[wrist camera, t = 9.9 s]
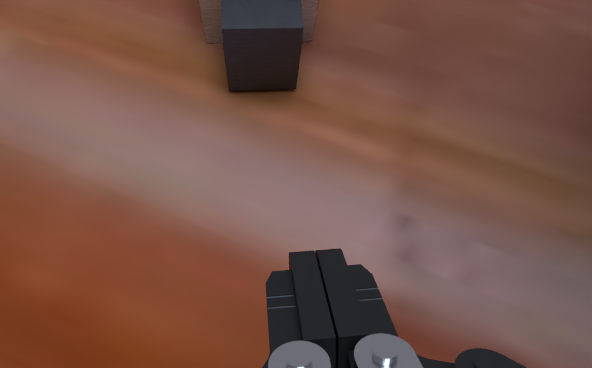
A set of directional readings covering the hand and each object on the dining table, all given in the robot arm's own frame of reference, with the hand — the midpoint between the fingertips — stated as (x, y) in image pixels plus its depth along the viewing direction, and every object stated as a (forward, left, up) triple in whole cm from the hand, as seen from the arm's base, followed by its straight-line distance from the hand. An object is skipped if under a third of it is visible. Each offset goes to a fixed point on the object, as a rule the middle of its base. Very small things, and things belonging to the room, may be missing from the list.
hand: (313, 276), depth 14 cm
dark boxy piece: (-23, -19, -23) cm, 38 cm away
